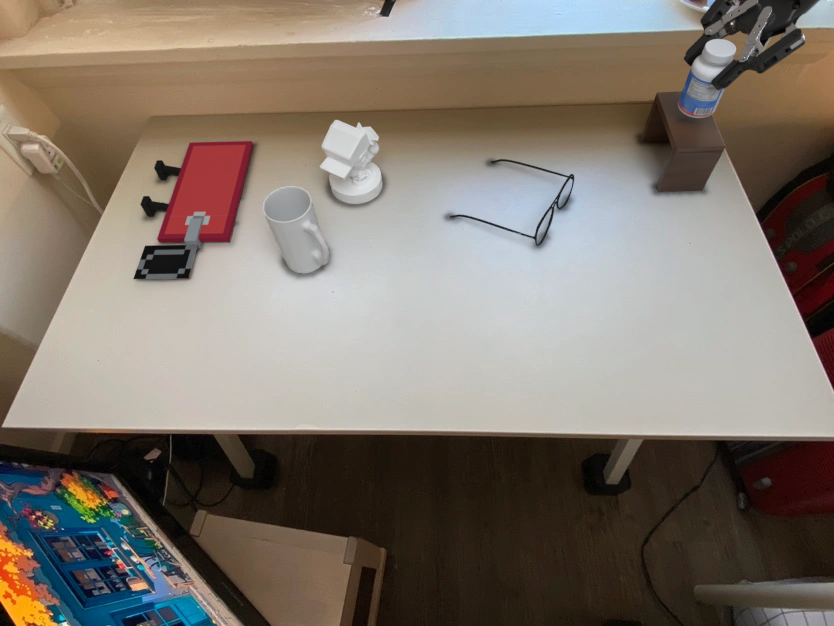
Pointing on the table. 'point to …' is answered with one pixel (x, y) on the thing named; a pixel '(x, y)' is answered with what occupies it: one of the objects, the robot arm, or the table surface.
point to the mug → (296, 228)
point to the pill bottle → (705, 79)
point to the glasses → (545, 212)
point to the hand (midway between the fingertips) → (701, 74)
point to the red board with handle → (195, 206)
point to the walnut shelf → (683, 144)
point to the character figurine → (352, 162)
